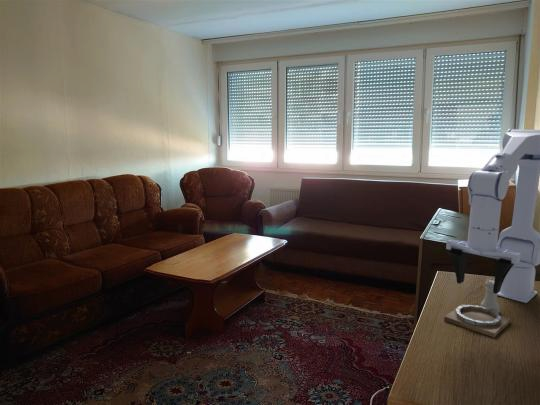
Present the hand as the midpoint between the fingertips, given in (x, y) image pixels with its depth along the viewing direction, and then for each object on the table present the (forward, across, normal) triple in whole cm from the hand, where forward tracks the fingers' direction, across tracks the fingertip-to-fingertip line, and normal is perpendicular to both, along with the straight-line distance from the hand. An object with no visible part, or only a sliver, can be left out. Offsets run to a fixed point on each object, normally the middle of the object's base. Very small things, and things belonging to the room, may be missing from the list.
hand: (477, 287), depth 92 cm
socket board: (+10, -1, +4) cm, 11 cm away
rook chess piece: (+10, -1, +12) cm, 16 cm away
